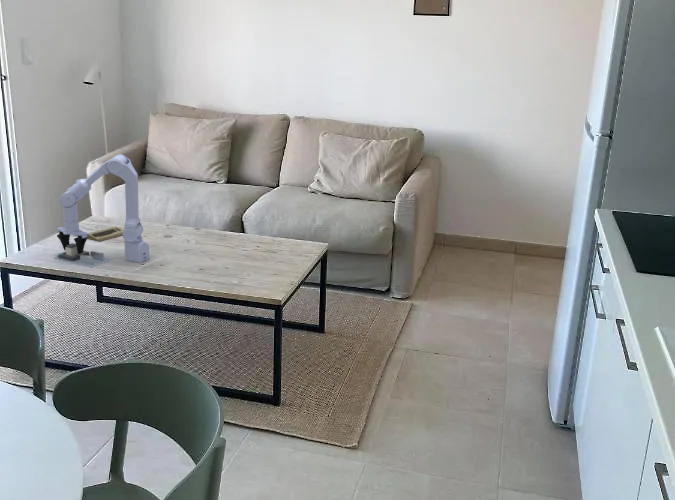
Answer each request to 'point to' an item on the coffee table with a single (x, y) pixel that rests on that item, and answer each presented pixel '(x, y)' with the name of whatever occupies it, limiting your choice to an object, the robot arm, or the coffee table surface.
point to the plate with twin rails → (91, 257)
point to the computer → (105, 234)
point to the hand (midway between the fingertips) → (73, 251)
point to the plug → (71, 249)
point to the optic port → (72, 258)
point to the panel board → (95, 261)
